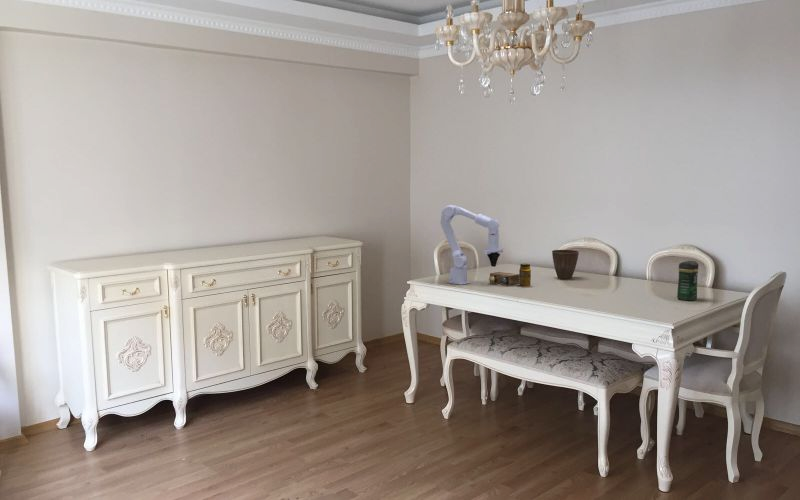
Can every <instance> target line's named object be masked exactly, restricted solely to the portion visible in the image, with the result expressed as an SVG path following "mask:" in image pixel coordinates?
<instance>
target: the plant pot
mask: <svg viewBox="0 0 800 500" xmlns="http://www.w3.org/2000/svg"><path fill="white" fill-rule="evenodd" d="M551 253H552V254H551V256H552V260H553V267H554V270H555V271H554V272H555V273H556V276H557V279H559V280H562V281H569V280H571V279H572V278H573V275H574V273H575V270H576V266H577V264H578V259H579V254H580V253H579V250H574V249H573V250H572V249H553V250H552V251H551Z"/></svg>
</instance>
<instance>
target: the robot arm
mask: <svg viewBox="0 0 800 500" xmlns="http://www.w3.org/2000/svg"><path fill="white" fill-rule="evenodd" d="M455 216H462V217H466V218H468V219H470V220H474V222H475V224H477V225H479V226H481V227H484V228H487V229H488V234H487V235H488V237H487V239H488V241H487V246H488V248H487V249H486V250H483V255H485V256H486V255H487V258H488V259H489V263H490V265H491V268H492V267H493V268H496V267H497V263H498V259H499V257H500V256H501V253H504V248H500V247H499V246H500V235H499V234H500V233H499V232H500V231H499V227H500V221H499V220H497V219H496V218H494V219H493V217H489V216H487V215H485V214H484V213H478V214H476V213H474V212H472V211H470V210H468V209H466V208H464V207H461V206H458V205H454V204H448V205H446V206H444V208H443V209H442V210H441V215H440V217H441V218H440V221H439V222H440V225H441V228H442V231H443V233H444V235H445V238H446V241H447V243H448V246H449V248H450V250H451V255H452V259H453V266H452V267H451V268H450V269H449V281H448V284H455V285H460V286H461V285H466V284H470V283H471V281H468V267H467V263H468V257H467V256H466V255H465V254H464V252H463V250H462V249H461V247H460V244H459V242H458V240H457V237H456V235H455V233H454V230H453V227H452V225H451V222H452V220H453V218H454V217H455Z"/></svg>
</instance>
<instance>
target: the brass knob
mask: <svg viewBox="0 0 800 500" xmlns="http://www.w3.org/2000/svg"><path fill="white" fill-rule="evenodd" d="M488 281H489V283H490V282H491V283H492V282H495V281H496V277H495V276H490V275H489V277H488ZM491 283H490V284H491Z"/></svg>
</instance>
